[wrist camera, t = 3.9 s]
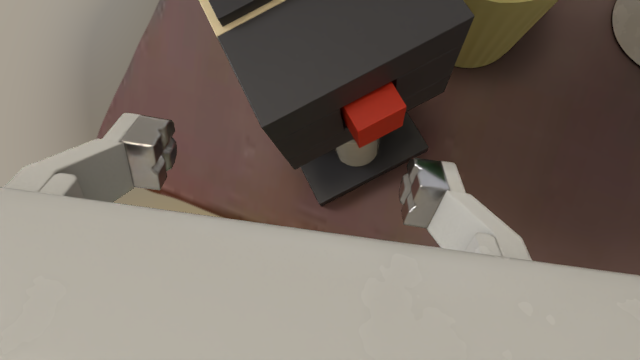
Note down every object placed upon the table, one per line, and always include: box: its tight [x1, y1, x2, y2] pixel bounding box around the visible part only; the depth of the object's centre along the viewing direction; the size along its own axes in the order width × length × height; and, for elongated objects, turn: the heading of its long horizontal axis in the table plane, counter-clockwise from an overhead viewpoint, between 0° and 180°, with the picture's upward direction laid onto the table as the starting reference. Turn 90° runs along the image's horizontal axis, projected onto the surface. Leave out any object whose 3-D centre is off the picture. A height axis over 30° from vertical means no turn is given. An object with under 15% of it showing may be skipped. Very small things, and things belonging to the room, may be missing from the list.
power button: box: [340, 82, 407, 148], centre depth 27 cm, size 3×4×4 cm
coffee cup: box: [335, 138, 380, 167], centre depth 41 cm, size 5×5×9 cm
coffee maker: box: [199, 0, 475, 206], centre depth 35 cm, size 16×14×25 cm
